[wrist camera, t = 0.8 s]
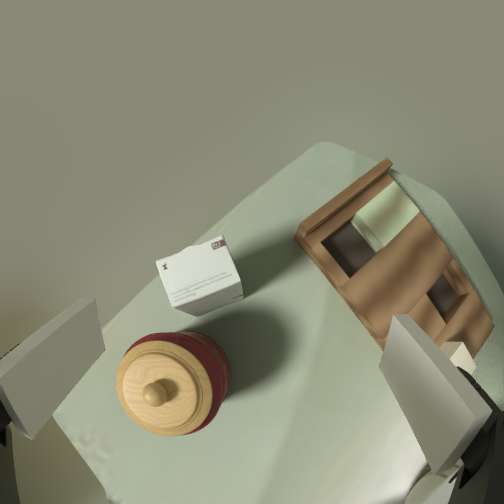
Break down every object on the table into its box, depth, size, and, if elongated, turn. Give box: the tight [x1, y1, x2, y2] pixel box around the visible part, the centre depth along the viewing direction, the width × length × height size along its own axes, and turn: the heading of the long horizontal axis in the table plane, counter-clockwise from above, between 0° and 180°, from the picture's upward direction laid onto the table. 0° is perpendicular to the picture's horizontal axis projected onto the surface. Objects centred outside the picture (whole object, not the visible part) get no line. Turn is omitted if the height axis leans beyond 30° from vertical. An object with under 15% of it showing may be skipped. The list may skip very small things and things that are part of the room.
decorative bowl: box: [403, 458, 463, 504], centre depth 27 cm, size 27×27×12 cm
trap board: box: [294, 158, 494, 359], centre depth 40 cm, size 38×20×7 cm, turn 37°
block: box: [440, 342, 477, 375], centre depth 34 cm, size 6×6×5 cm
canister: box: [116, 331, 230, 436], centre depth 32 cm, size 13×13×18 cm
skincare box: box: [156, 235, 244, 317], centre depth 37 cm, size 8×6×15 cm
